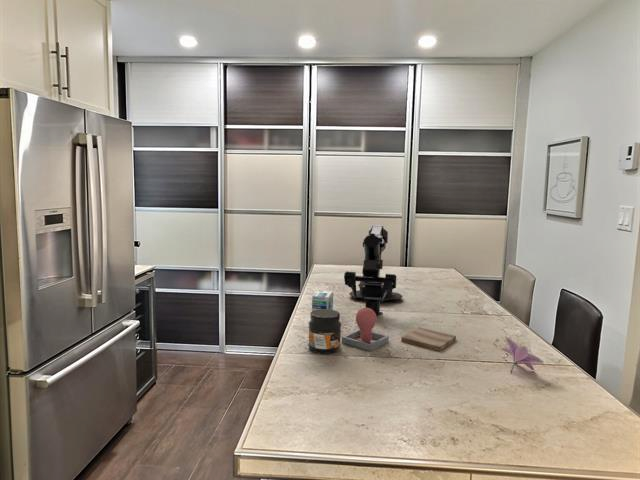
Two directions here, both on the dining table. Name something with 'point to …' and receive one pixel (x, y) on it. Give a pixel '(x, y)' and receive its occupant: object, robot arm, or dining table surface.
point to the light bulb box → (322, 300)
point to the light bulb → (366, 323)
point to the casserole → (388, 296)
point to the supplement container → (324, 331)
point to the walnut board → (428, 339)
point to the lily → (520, 354)
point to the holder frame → (350, 341)
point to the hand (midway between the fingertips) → (368, 299)
